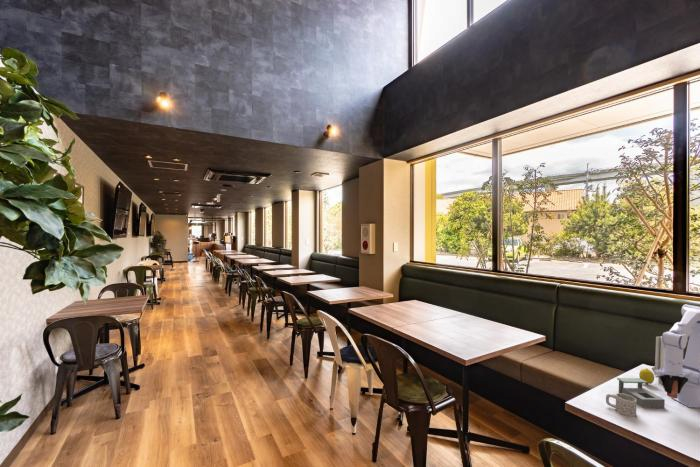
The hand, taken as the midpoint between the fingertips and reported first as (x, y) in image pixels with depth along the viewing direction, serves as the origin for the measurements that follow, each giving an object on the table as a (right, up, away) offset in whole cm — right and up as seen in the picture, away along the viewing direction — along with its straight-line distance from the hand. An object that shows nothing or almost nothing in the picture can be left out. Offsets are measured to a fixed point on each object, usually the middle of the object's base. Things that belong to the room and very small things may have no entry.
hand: (672, 392), depth 136 cm
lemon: (+12, -8, +24) cm, 28 cm away
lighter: (+20, -8, +25) cm, 33 cm away
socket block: (-5, -8, +9) cm, 13 cm away
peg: (0, -2, 0) cm, 2 cm away
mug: (-22, -8, 0) cm, 24 cm away
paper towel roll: (+30, -9, +32) cm, 45 cm away
